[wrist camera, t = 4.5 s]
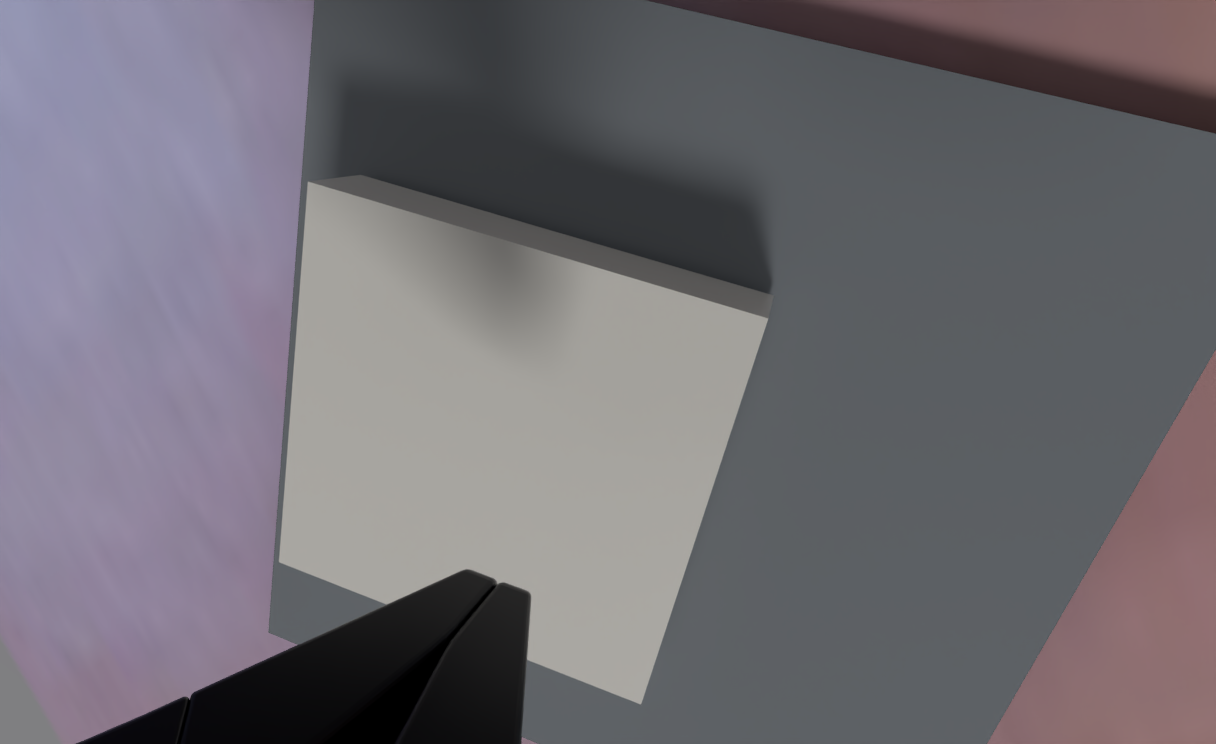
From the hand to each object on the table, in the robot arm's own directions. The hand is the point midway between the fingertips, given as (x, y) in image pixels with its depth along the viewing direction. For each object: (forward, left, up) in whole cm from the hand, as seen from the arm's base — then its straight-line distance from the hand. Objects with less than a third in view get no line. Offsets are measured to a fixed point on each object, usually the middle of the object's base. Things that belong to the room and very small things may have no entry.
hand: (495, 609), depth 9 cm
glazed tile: (-2, 0, -4) cm, 4 cm away
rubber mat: (-1, 0, -5) cm, 5 cm away
